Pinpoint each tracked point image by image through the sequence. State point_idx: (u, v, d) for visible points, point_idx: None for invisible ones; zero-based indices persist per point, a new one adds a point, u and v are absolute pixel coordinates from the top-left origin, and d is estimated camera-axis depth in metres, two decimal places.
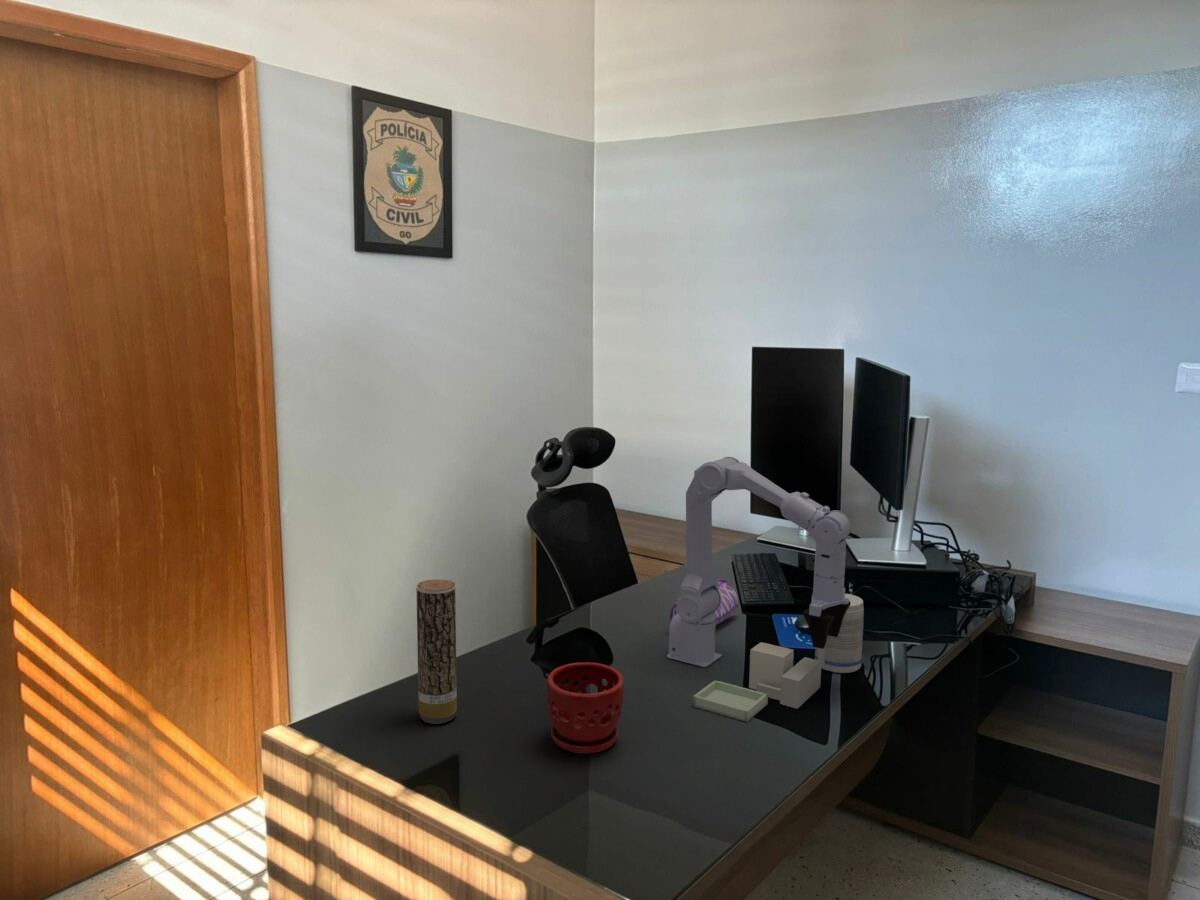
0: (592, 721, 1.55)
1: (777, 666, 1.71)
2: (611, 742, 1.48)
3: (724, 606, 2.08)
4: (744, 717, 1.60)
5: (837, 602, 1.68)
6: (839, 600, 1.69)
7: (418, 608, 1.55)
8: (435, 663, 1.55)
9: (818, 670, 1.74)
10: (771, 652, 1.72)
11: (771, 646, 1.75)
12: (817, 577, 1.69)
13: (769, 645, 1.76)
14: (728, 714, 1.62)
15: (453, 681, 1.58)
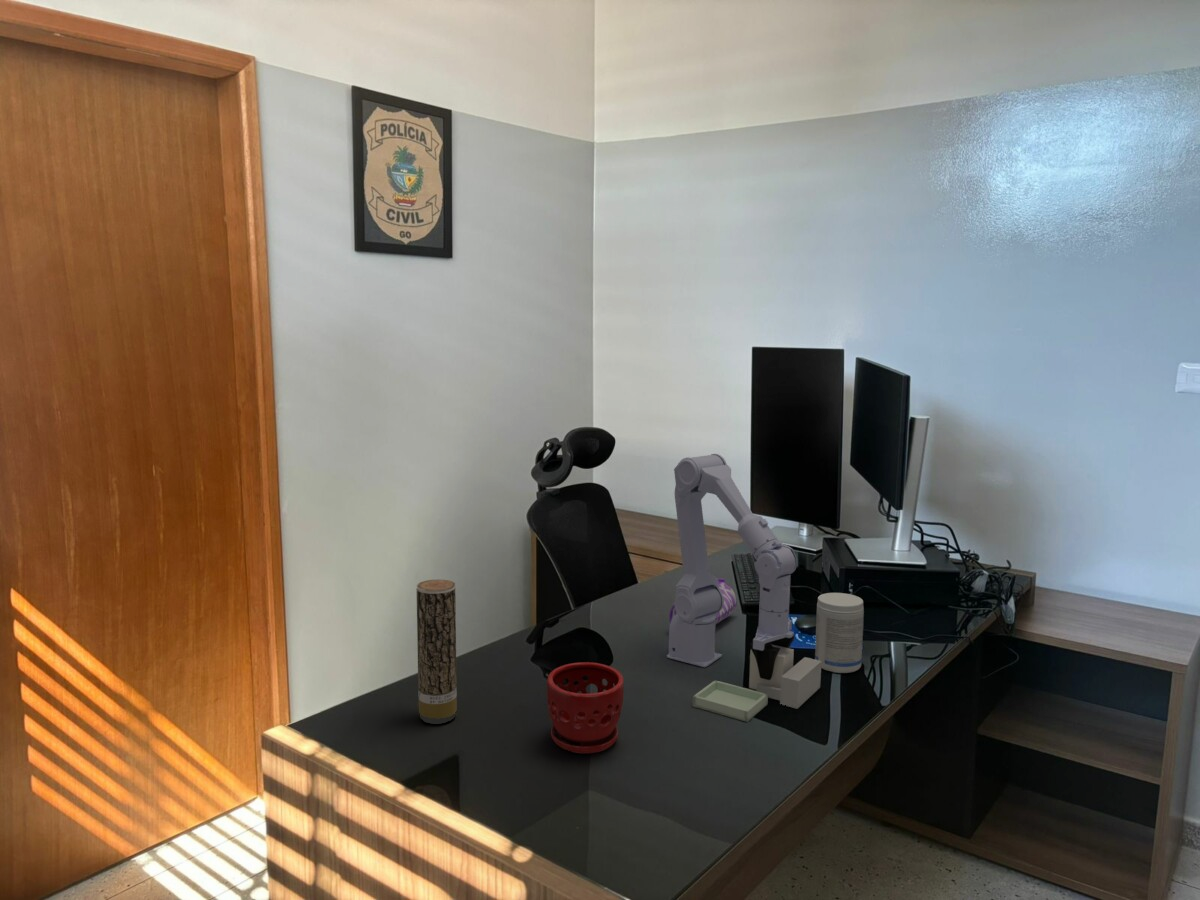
0: (592, 721, 1.55)
1: (777, 665, 1.71)
2: (611, 742, 1.48)
3: (723, 605, 2.09)
4: (744, 717, 1.60)
5: (781, 635, 1.70)
6: (783, 634, 1.71)
7: (418, 608, 1.55)
8: (435, 663, 1.55)
9: (818, 670, 1.74)
10: None
11: None
12: (762, 611, 1.71)
13: None
14: (728, 714, 1.62)
15: (453, 681, 1.58)
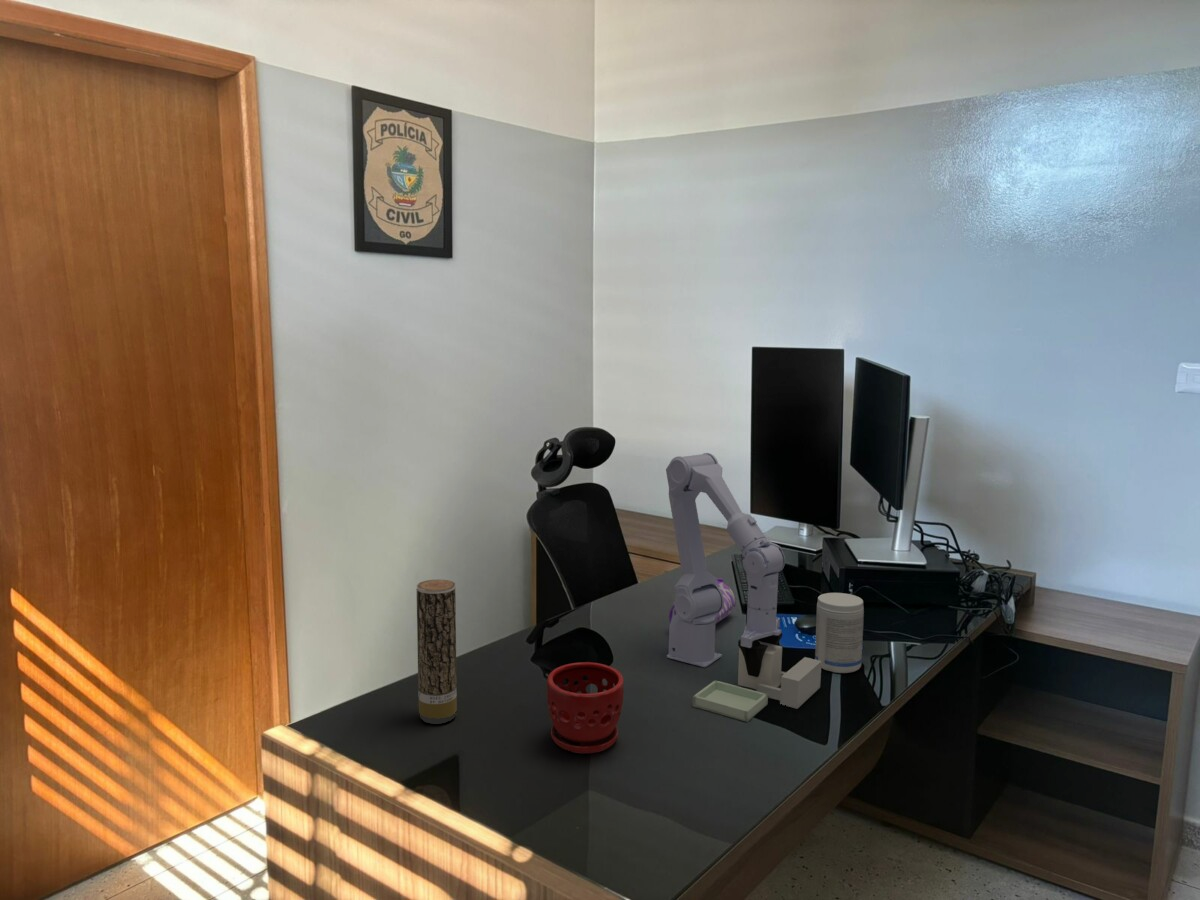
0: (592, 721, 1.55)
1: (766, 662, 1.72)
2: (611, 742, 1.48)
3: None
4: (744, 717, 1.60)
5: (768, 633, 1.72)
6: (771, 631, 1.72)
7: (418, 608, 1.55)
8: (435, 663, 1.55)
9: (818, 670, 1.74)
10: None
11: (760, 643, 1.77)
12: (750, 608, 1.73)
13: None
14: (728, 714, 1.62)
15: (453, 681, 1.58)
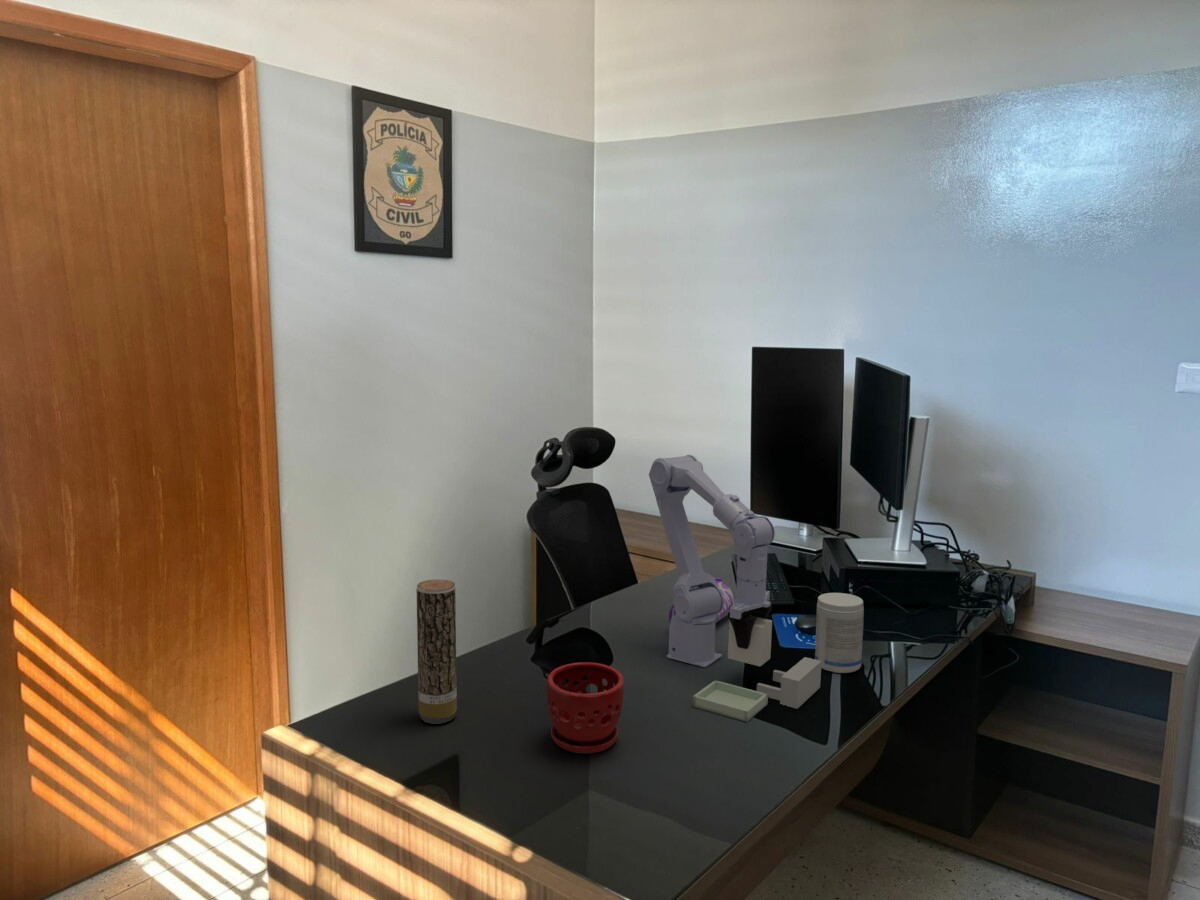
0: (592, 721, 1.55)
1: (755, 636, 1.73)
2: (611, 742, 1.48)
3: None
4: (744, 717, 1.60)
5: (758, 605, 1.72)
6: (760, 603, 1.73)
7: (418, 608, 1.55)
8: (435, 663, 1.55)
9: (818, 670, 1.74)
10: None
11: None
12: (739, 581, 1.73)
13: None
14: (728, 714, 1.62)
15: (453, 681, 1.58)
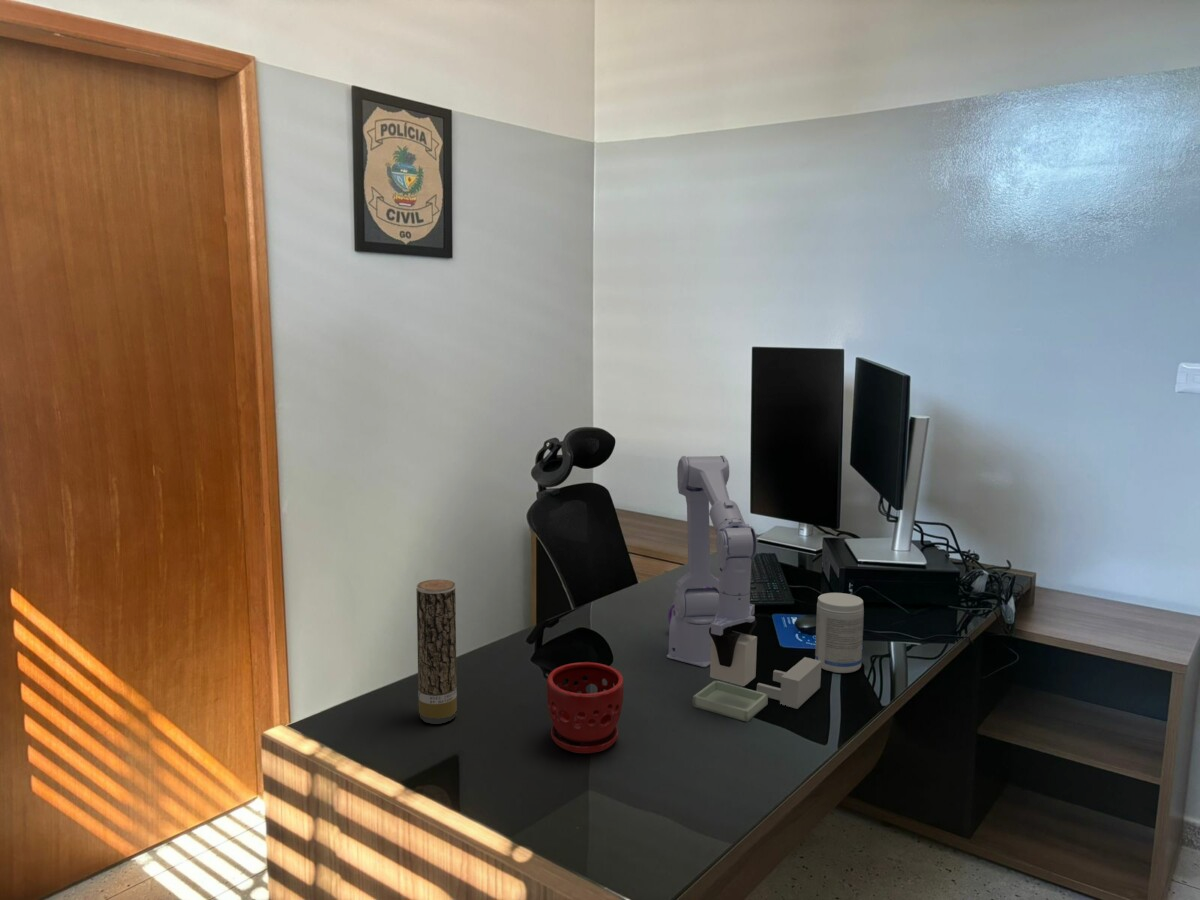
0: (592, 721, 1.55)
1: (739, 653, 1.62)
2: (611, 742, 1.48)
3: None
4: (744, 717, 1.60)
5: (741, 620, 1.61)
6: (744, 618, 1.62)
7: (418, 608, 1.55)
8: (435, 663, 1.55)
9: (818, 670, 1.74)
10: None
11: None
12: (721, 594, 1.62)
13: None
14: (728, 714, 1.62)
15: (453, 681, 1.58)
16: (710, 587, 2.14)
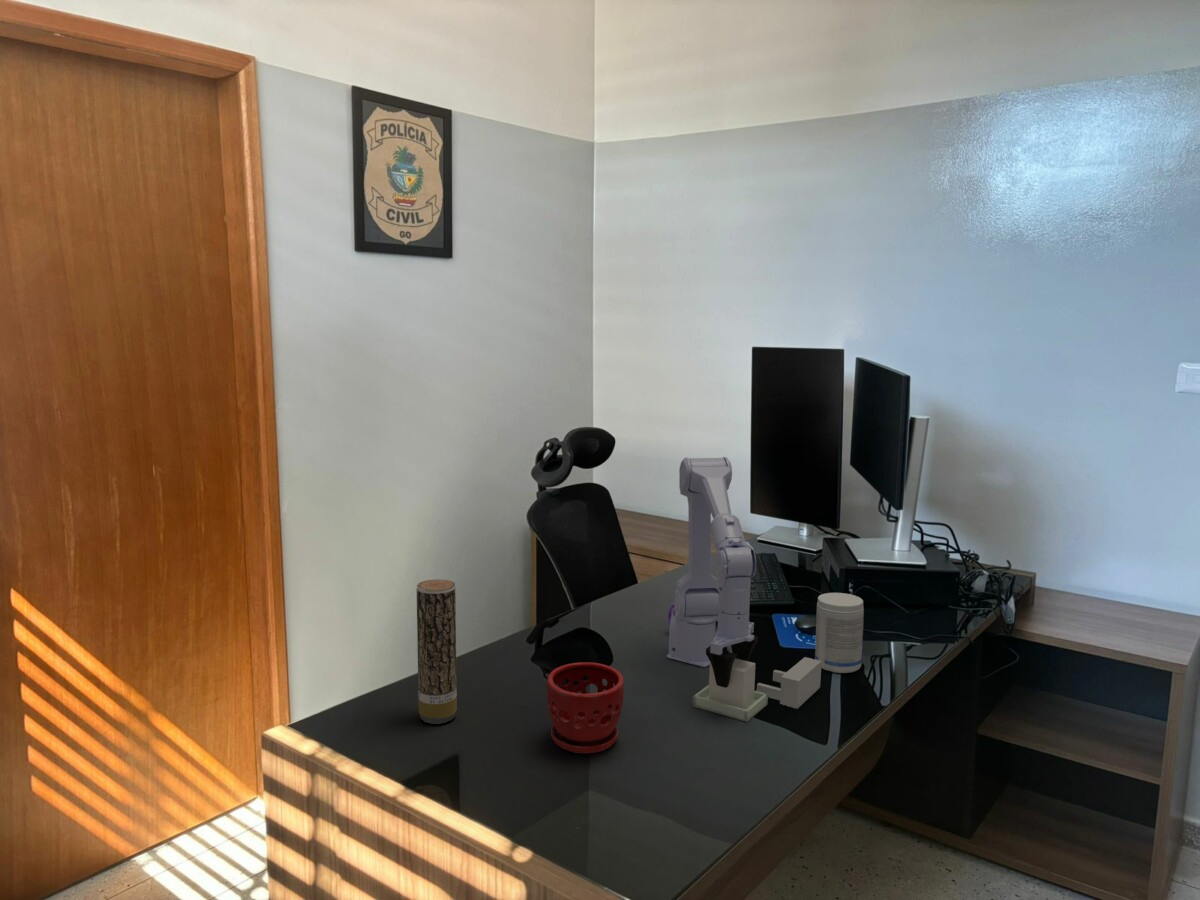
0: (592, 721, 1.55)
1: (737, 680, 1.62)
2: (611, 742, 1.48)
3: None
4: (744, 717, 1.60)
5: (740, 639, 1.62)
6: (743, 637, 1.62)
7: (418, 608, 1.55)
8: (435, 663, 1.55)
9: (818, 670, 1.74)
10: None
11: None
12: (720, 613, 1.63)
13: None
14: (728, 714, 1.62)
15: (453, 681, 1.58)
16: None
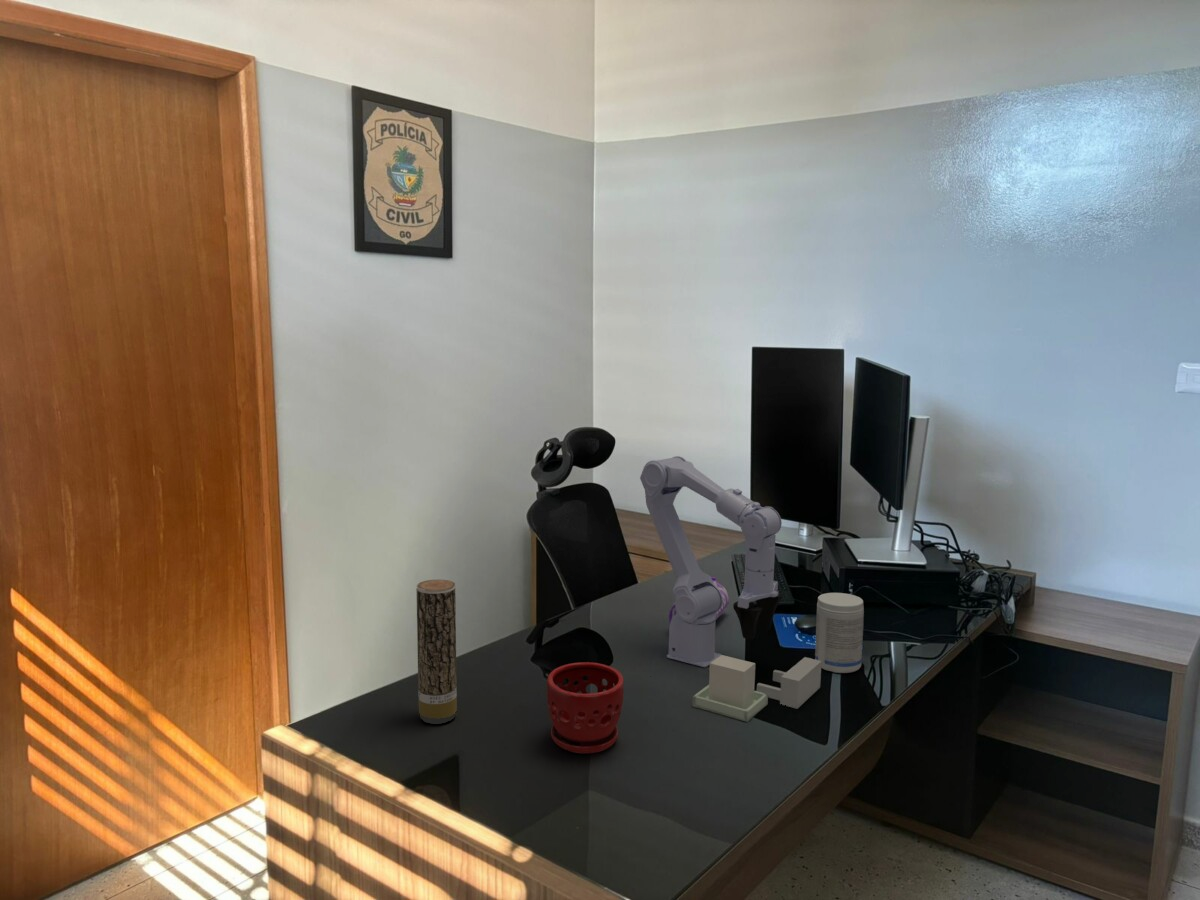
0: (592, 721, 1.55)
1: (737, 680, 1.62)
2: (611, 742, 1.48)
3: None
4: (744, 717, 1.60)
5: (765, 594, 1.74)
6: (768, 593, 1.75)
7: (418, 608, 1.55)
8: (435, 663, 1.55)
9: (818, 670, 1.74)
10: (731, 666, 1.64)
11: (732, 660, 1.67)
12: (747, 570, 1.75)
13: (730, 658, 1.67)
14: (728, 714, 1.62)
15: (453, 681, 1.58)
16: None
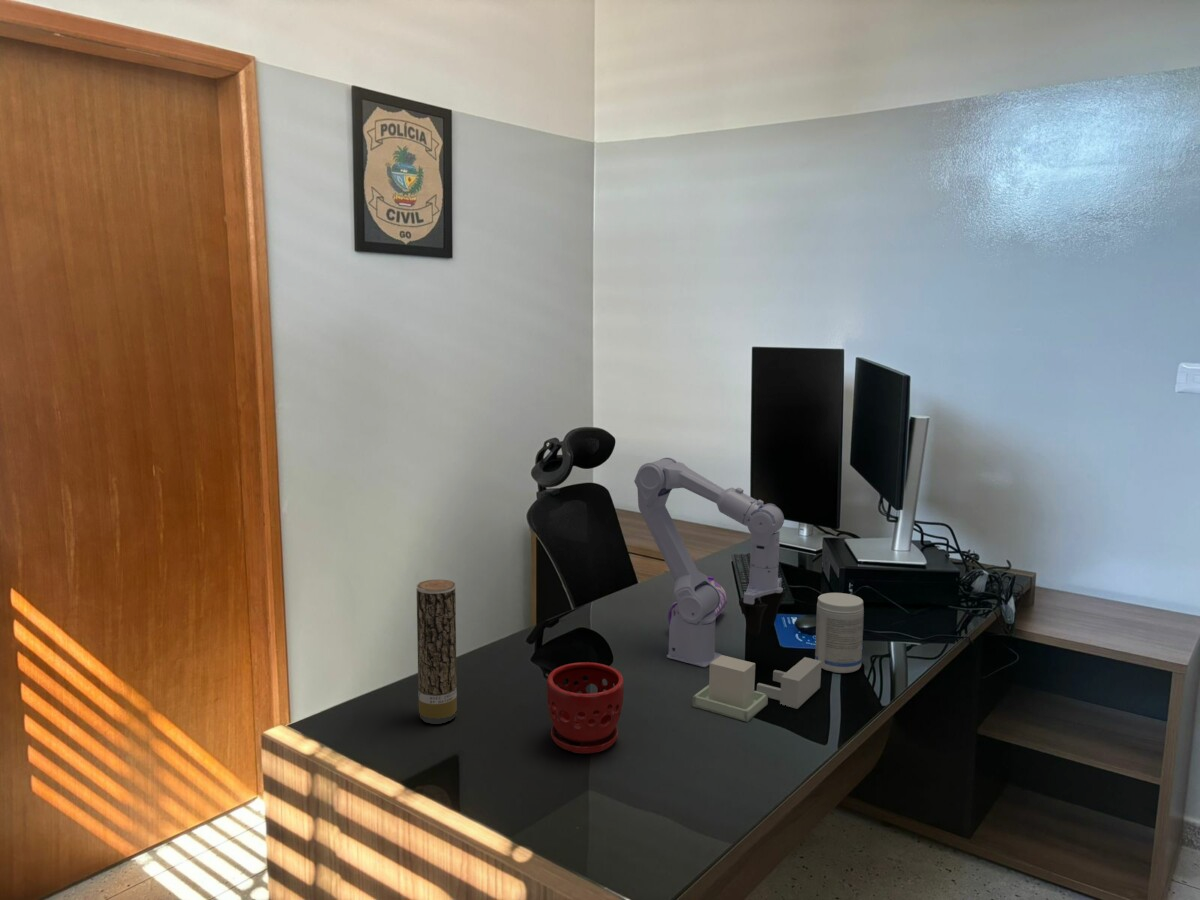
0: (592, 721, 1.55)
1: (737, 680, 1.62)
2: (611, 742, 1.48)
3: None
4: (744, 717, 1.60)
5: (770, 590, 1.77)
6: (773, 589, 1.77)
7: (418, 608, 1.55)
8: (435, 663, 1.55)
9: (818, 670, 1.74)
10: (731, 666, 1.64)
11: (732, 660, 1.67)
12: (752, 567, 1.78)
13: (730, 658, 1.67)
14: (728, 714, 1.62)
15: (453, 681, 1.58)
16: None
